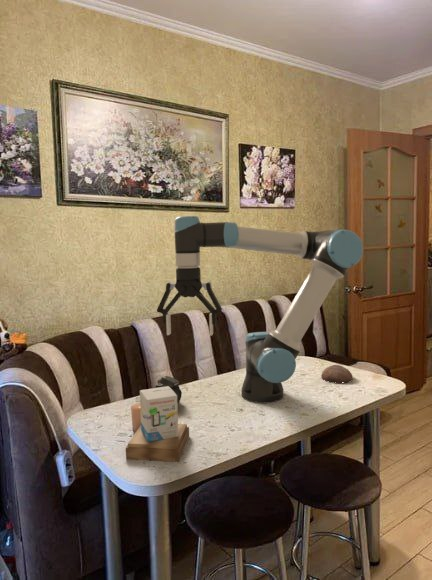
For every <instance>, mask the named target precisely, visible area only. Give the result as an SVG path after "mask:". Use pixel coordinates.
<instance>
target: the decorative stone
mask: <svg viewBox="0 0 432 580" xmlns="http://www.w3.org/2000/svg"><path fill="white" fill-rule="evenodd" d="M353 377H354V376H353V373H352V372H351V371H350V370H349V369H348V368H346V367H345V366H342V365H340V364H333V365H329V366H327V367H326V368H324V369H323V371H322V373H321V379H322V380H323V381H324V380H325V381H324V382H327V381H329V382H328V383H331V382H334V383H333V384H341V383H342V382H349V381H351V380H352V381H353ZM352 381H351V382H352ZM335 382H336V383H335ZM349 383H350V382H349ZM342 384H343V383H342Z"/></svg>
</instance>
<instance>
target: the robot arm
mask: <svg viewBox="0 0 432 580" xmlns="http://www.w3.org/2000/svg"><path fill="white" fill-rule="evenodd" d="M174 244H175V246H174V247H175V248H174V250H175V266H176V267H177V268H176V269H175V276H176V277H175V278H176V280H175V281H176V282H175V283H174V282H170V281H169V282H167V283H165V284H166V285H165V291H164V293H163V296H162V298H161V300H160V302H159V304H158V307H157V309H156V312H157V313H161V314H162V320H163V321H162V323H163V325H166V336H170V335H171V334H172V323H171V313H169V311H170V310H171V309H172V308H173V307H174V305H175V304H176V303H177V301H178V300H179V299H180V298H181V297H183V298H194V297H196V298H197V299H198V300H199V301H200V302H201V303H202V304H203V305H204V307H205V308H206V309H207V310H208V311H209V312H210V313H209V315H208V317H209V318H208V320H209V321H208V322H209V324H208V325H209V336H211V337H212V336H213V334H214V325H216V324H217V314H218V313H221V312H222V311H223V308H222V306H221V304H220V302H219V300H218V298H217V296H216V294H215V292H214V291H213V288H212V283H211V281H207V282H203V283H202V279H201V268H200V267H199V266H201V252H200V251H201V250H200V249H201V248H228V249H237V250H245V251H253V252H254V251H256V252H264V253H265V252H266V253H273V254H282V255H283V254H285V255H293V256H297V257H298V258H299V259H301V260H302V259H303V260H309V261H311V265H312V267H311V269H310V271H309V272H308V274H307V275H306V276H305V277H306V278H305V279H304V281H303V283H302V284H301V286H300V287H299V289H298V291H297V293H296V294H295V296H294V298H293V300H292V301H291V303H290V305H289V306H288V308H287V310H286V312H285V313H284V315H283V317H282V319H281V320H280V322H279V324H278V325H277V327H276V329H275V330H271V331H256V332H249V333H247V334H246V336H245V341H244V342H245V377H244V381H243V383H242V387H241V389H240V390H241V397H242V398H243V399H245V400H246V401H248V402H253V403H263V404H264V403H265V404H266V403H275V402H278V401H281V400H282V399H283V398H284V395H285V393H284V392H285V391H284V386H283V382H287V381H289V379H290V378H291V377H292V376H293V375H294V373H295V371H296V370H297V369H296V368H297V364H296V362H297V361H296V359H297V357H298V355H299V354H300V352H301V347H300V343H301V341H302V339H303V337H304V336H305V334H306V332H307V331H308V329H309V327H310V325H311V324H312V322H313V321H314V318H315V316H316V315H317V314H318V312H319V310H320V308H321V307H322V305H323V303H324V301H325V299H326V298H327V296H328V294H329V292H330V291H331V289H332V287H333V286H334V285H335V283H336V281H337V280H340V279H343V278H344V277H345V275H346V273H347V272H348V270H349V268H352V267H354V266H356V264H358V263H359V262H360V261H361V259H362V257H363V255H364V254H363V253H364V245H363V241H362V239H361V238H360V236H359V235H358V234H357V233H355V232H354V231H352V230H349V229H343V228H339V229H330V230H320V231H308V230H303V231H301V232H300V233H298V232H297V233H296V232H289V231H282V230H271V229H262V228H255V227H246V226H238V224H237V223H236V222H230V221H223V222H221V221H220V222H219V221H218V222H201V221H200V217H199V216H196V215H194V216H192V215H189V216H188V215H187V216H186V215H185V216H184V215H183V216H177V217H176V218H175V219H174ZM174 288H175V289H176V291H177V293H175V295H174V297H173V298H172V299H171V300H170V302H169V303H168V304H167V305H166V303H167V301H168V299H169V297H170V294H171V292H172V290H174ZM202 288H203V289H204V290H206V292H207V295H208V296H209V298H210V300H211V301H212V303H213V305H214V306H213V305H212V304H211V303H210V301H209V300H208V299H207V298H206V297H205V296H204V295H203V293H202V292H201V290H202ZM165 305H166V306H165Z"/></svg>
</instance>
